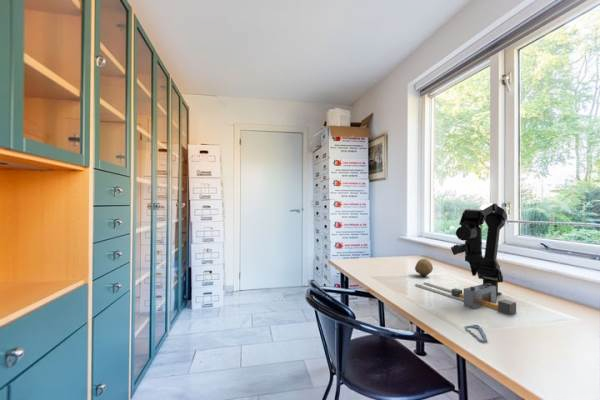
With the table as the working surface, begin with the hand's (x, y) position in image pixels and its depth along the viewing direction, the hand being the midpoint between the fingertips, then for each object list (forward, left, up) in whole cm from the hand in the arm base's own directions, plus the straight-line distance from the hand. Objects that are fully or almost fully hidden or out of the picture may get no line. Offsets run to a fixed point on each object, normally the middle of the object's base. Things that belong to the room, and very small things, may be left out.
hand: (473, 275), depth 117 cm
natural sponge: (-16, -37, -11) cm, 42 cm away
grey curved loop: (+29, +17, -12) cm, 36 cm away
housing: (+1, -11, -11) cm, 16 cm away
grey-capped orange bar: (0, +3, -11) cm, 11 cm away
